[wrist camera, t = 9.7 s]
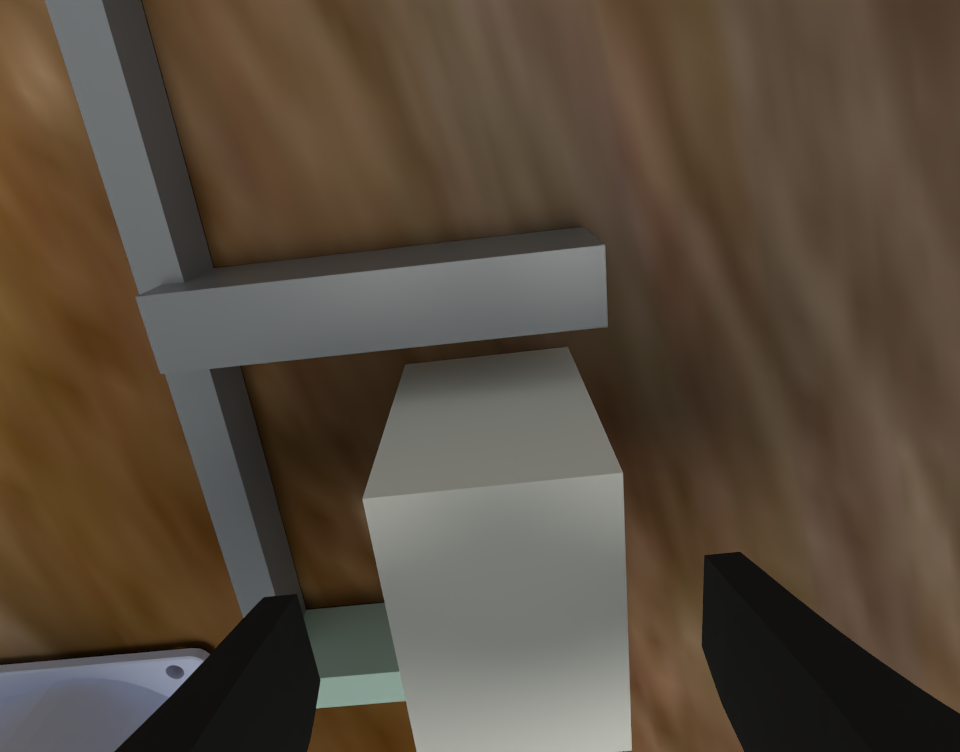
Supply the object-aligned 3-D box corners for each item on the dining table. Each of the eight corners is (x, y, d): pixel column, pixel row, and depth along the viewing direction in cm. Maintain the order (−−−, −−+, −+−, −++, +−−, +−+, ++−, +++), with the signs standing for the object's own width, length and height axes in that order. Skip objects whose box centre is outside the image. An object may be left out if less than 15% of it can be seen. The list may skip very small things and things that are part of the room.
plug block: (438, 562, 17) (420, 768, 12) (405, 363, 15) (362, 498, 9) (580, 548, 17) (631, 750, 11) (567, 346, 15) (622, 473, 9)
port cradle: (280, 639, 18) (250, 713, 16) (12, -260, 11) (-118, -371, 8) (601, 611, 18) (620, 682, 15) (557, -339, 10) (580, -480, 8)
